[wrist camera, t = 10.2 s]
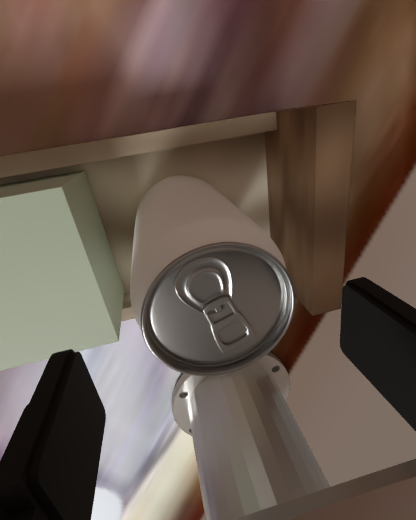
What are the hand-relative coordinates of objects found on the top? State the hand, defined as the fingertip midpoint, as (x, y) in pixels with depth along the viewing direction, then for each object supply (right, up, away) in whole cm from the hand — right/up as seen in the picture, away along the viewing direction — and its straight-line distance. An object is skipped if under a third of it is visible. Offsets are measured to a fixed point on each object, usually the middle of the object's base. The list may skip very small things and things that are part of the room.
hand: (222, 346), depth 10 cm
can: (-2, +6, +11) cm, 13 cm away
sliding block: (-13, +3, +9) cm, 17 cm away
